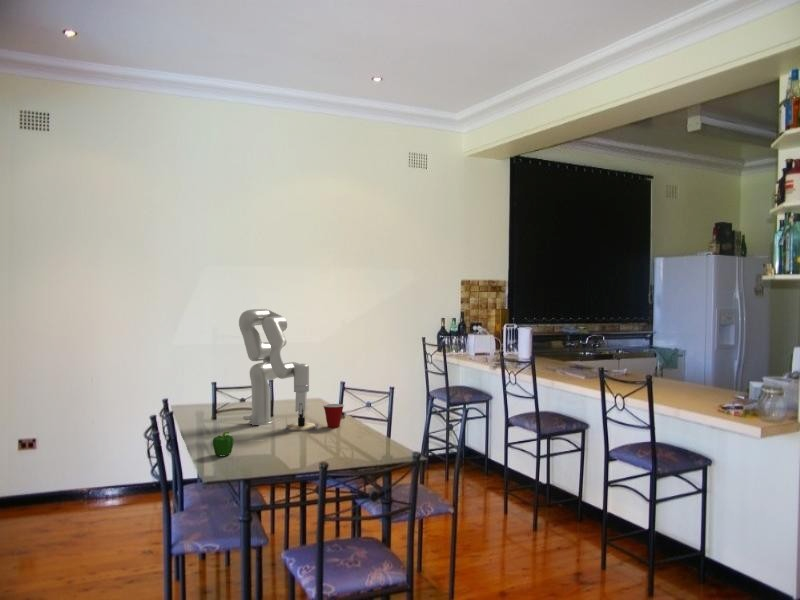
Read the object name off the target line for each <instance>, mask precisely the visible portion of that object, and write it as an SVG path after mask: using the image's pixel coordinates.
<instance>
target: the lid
mask: <svg viewBox="0 0 800 600" xmlns="http://www.w3.org/2000/svg"><path fill="white" fill-rule="evenodd" d="M304 418H305V419H306V414H304ZM315 424H316V423H312V422H305V425H304V426H298V422H296V423H295V422H294V423H290V424H287V425H288V426H287V425H286V426H287V428H288V429H289V430H292V431H307V430H312V429H315V428H316V425H315ZM307 432H308V431H307Z"/></svg>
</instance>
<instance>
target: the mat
mask: <svg viewBox="0 0 800 600" xmlns="http://www.w3.org/2000/svg"><path fill="white" fill-rule="evenodd" d="M314 424H315V425H316V428H315V429H312V430H307V431H292V430H289V429H288V428H287V426H288V425H289V424H286V426H285V429H284V431H283V432H284V433H298V432H299V433H300V432H318V428H319V423H314Z"/></svg>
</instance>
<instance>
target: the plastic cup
mask: <svg viewBox="0 0 800 600" xmlns="http://www.w3.org/2000/svg"><path fill="white" fill-rule="evenodd" d="M322 407H323V408H324V409H323V410H324V413H325V419H326V420H325V421H326V425H327V428H329V429H338V428H340V427H341V426H340V425H341V420H342V413H343V409H344V407H345V404H342V403H325V404H322Z"/></svg>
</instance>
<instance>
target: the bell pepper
mask: <svg viewBox="0 0 800 600" xmlns="http://www.w3.org/2000/svg"><path fill="white" fill-rule="evenodd" d="M229 434H230V430H229V431H228V430H226V431H224V432H222V435H217V436H215V437H213V439H212V447H213V450H214V454H215V455H216V454H218V455H227V454H228V455H230V454H231V453H232V452H233V451H232V450H233V447H234V437H233V436H232V435H229ZM229 453H230V454H229ZM218 455H217V456H218ZM228 455H227V456H228Z"/></svg>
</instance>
